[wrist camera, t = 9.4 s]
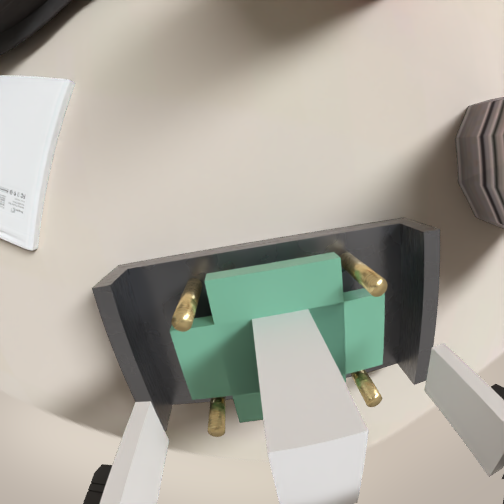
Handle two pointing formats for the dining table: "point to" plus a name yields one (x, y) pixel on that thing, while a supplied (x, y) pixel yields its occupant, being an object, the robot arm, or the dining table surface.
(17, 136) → the external hard drive
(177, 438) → the dining table surface
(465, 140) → the can
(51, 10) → the casserole
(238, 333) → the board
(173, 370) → the chassis
